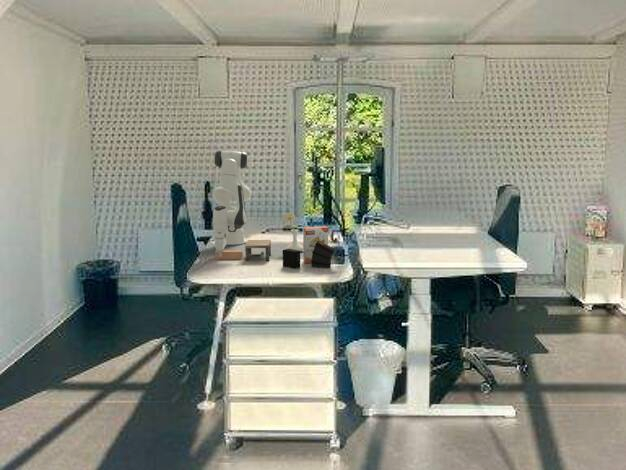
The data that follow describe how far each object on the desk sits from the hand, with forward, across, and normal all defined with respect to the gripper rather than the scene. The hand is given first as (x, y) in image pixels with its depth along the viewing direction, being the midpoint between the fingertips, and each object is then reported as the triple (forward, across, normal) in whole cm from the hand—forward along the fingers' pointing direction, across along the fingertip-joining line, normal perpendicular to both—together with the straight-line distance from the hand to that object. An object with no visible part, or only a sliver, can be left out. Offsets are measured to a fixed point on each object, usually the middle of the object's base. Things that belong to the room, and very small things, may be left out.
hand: (221, 255), depth 417 cm
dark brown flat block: (+2, +27, +62) cm, 67 cm away
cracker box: (+2, +13, +58) cm, 59 cm away
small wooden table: (+2, 0, +22) cm, 23 cm away
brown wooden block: (+2, 0, +4) cm, 5 cm away
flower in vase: (+2, -19, +44) cm, 48 cm away
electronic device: (+2, +26, +44) cm, 51 cm away
